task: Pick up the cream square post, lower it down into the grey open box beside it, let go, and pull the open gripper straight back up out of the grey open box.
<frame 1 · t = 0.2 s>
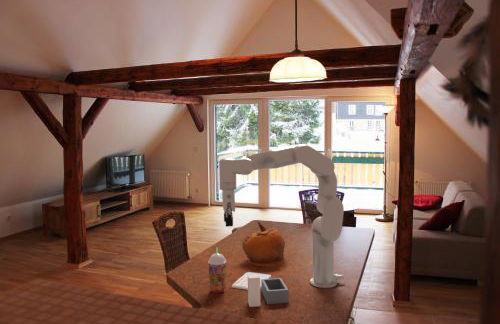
hand: (228, 223, 175), 31 cm above the table, tool pointing down, fingers open, 9 cm apart
smoothie: (217, 291, 177), on the table
calculator: (252, 283, 187), on the table
grey open box: (274, 296, 169), on the table
post: (254, 304, 162), on the table
pumpkin: (266, 260, 220), on the table
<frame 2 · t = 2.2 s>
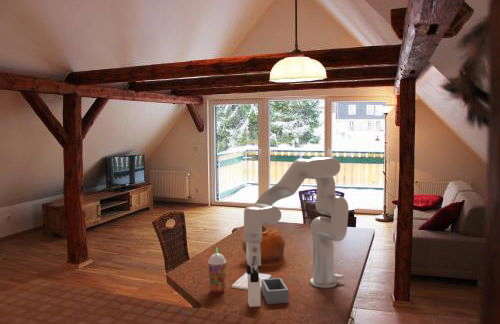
hand: (252, 277, 161), 11 cm above the table, tool pointing down, fingers open, 9 cm apart
nothing on the table moved.
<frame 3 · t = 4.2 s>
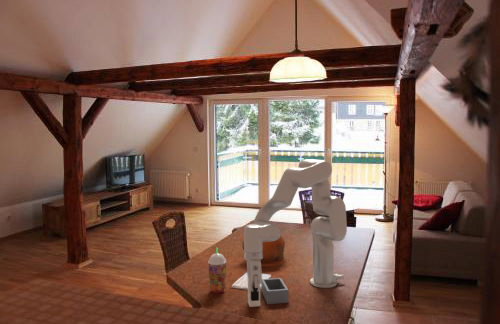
hand: (253, 297, 162), 3 cm above the table, tool pointing down, fingers closed on post, 4 cm apart
post: (254, 304, 162), on the table, touching gripper
everything else where it was.
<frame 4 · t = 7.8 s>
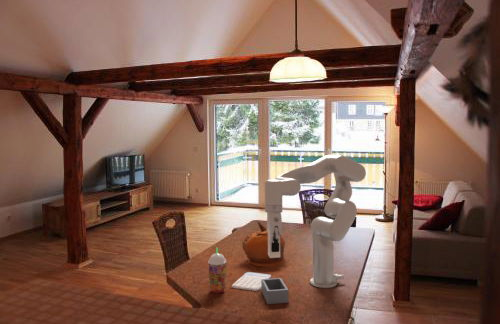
hand: (274, 249, 168), 21 cm above the table, tool pointing down, fingers closed on post, 4 cm apart
post: (274, 256, 168), point 18 cm above the table, touching gripper
everything else where it was.
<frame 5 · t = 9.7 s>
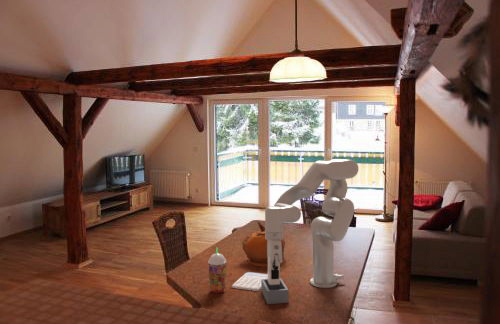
hand: (273, 276, 168), 9 cm above the table, tool pointing down, fingers closed on post, 4 cm apart
post: (273, 282, 169), point 6 cm above the table, touching gripper
everything else where it was.
when the fingers open (5 cm above the table, at t = 11.4 s): post drops 1 cm, resting on grey open box.
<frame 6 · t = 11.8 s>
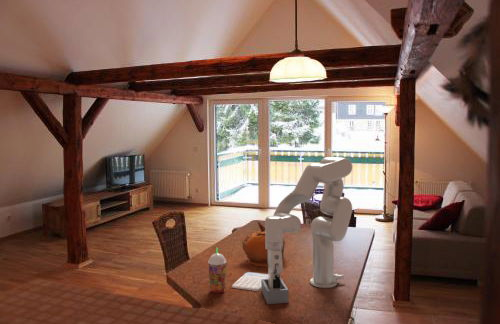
hand: (274, 283, 169), 6 cm above the table, tool pointing down, fingers open, 8 cm apart
post: (274, 295, 169), point 1 cm above the table, touching grey open box
everything else where it was.
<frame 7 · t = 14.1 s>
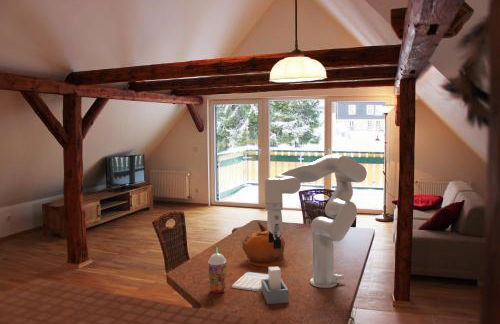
hand: (274, 245, 169), 22 cm above the table, tool pointing down, fingers open, 9 cm apart
nothing on the table moved.
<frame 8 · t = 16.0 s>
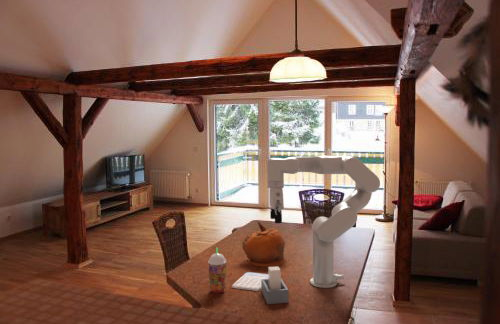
hand: (276, 220, 182), 30 cm above the table, tool pointing down, fingers open, 9 cm apart
nothing on the table moved.
at the end: post inside the target area on the grey open box (0.0 cm from its centre), point 0.5 cm above the grey open box's base; post tilted 0°; the gripper is holding nothing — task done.
